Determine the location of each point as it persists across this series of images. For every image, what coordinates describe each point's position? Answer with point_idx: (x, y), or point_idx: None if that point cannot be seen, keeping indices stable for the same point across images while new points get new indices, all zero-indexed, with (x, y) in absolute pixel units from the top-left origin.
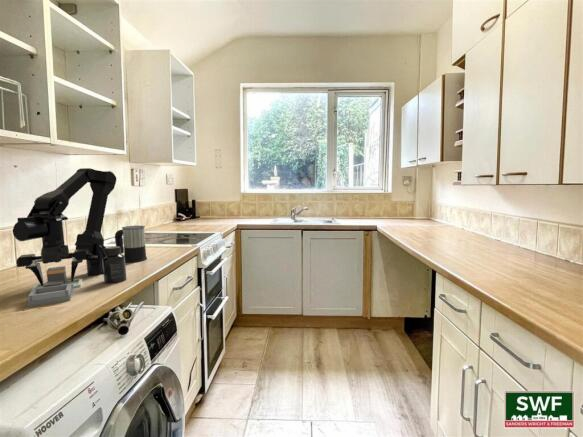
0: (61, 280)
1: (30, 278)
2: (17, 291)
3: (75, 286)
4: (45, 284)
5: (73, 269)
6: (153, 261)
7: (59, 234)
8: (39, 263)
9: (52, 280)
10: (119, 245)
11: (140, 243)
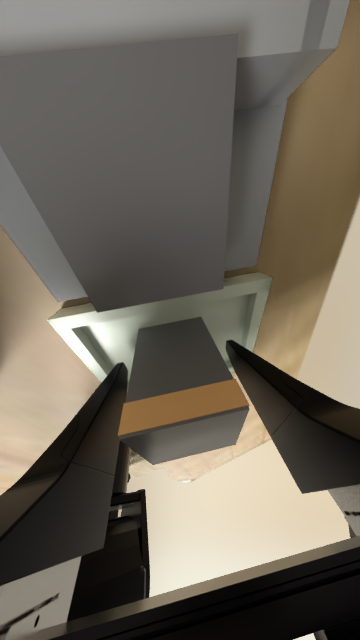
0: (94, 284)
1: (250, 412)
2: (284, 343)
3: (75, 312)
4: (213, 141)
5: (70, 437)
6: (20, 473)
7: None
8: (306, 487)
9: (192, 347)
10: (108, 517)
11: None
